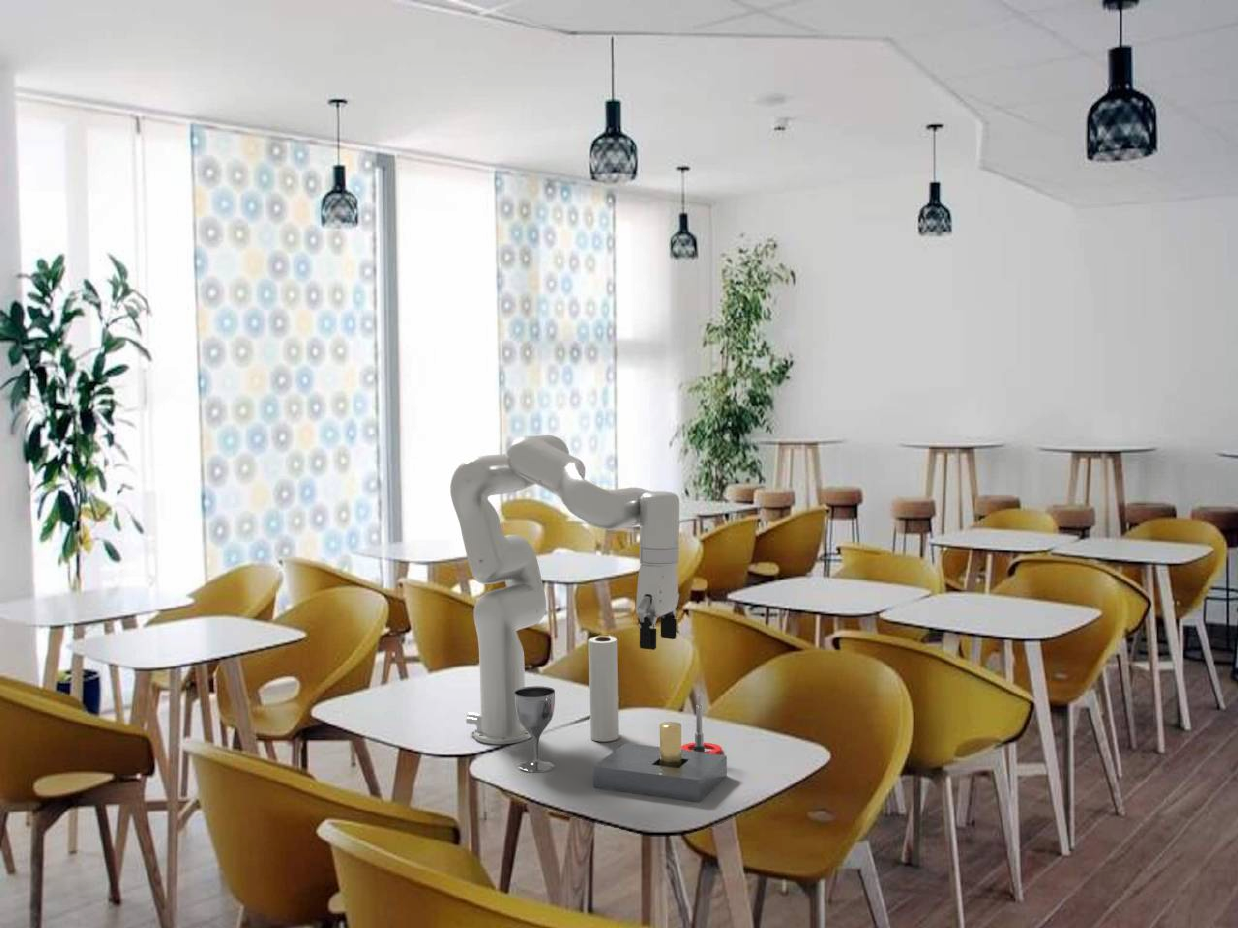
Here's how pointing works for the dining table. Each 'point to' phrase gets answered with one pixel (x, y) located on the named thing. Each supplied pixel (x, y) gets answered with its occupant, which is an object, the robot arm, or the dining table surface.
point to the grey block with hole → (660, 773)
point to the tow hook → (701, 735)
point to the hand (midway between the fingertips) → (658, 643)
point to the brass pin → (670, 744)
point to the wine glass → (535, 719)
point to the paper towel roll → (603, 689)
